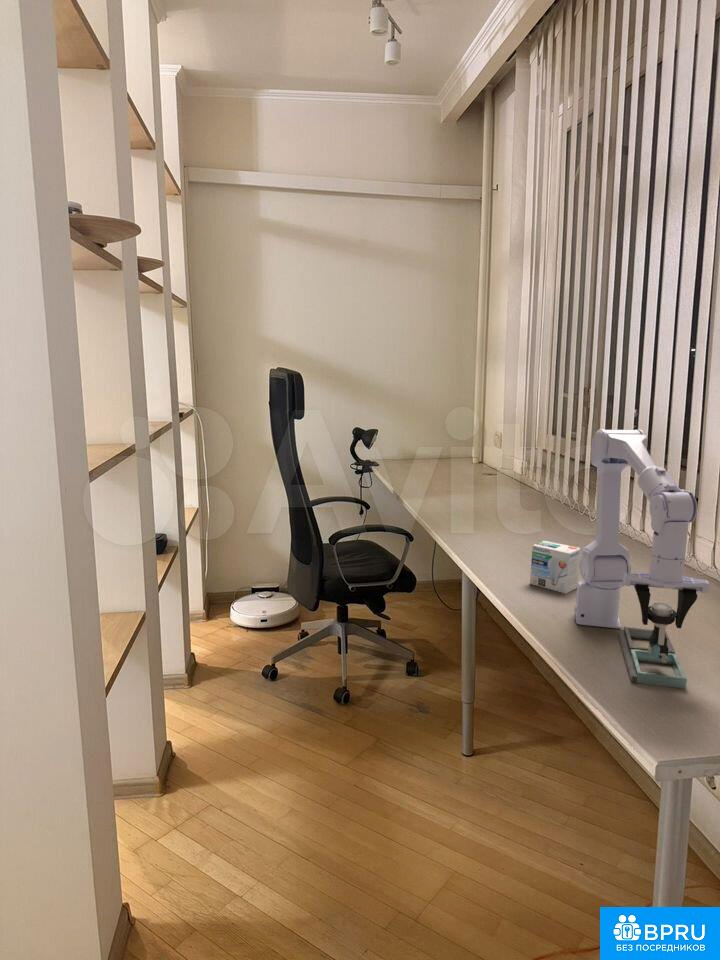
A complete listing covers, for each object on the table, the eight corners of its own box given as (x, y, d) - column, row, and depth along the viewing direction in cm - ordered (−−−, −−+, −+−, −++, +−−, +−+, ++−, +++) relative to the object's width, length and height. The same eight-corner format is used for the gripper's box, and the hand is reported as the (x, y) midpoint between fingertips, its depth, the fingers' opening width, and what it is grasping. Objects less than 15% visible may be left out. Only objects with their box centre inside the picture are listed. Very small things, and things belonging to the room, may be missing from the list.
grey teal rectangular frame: (631, 682, 130) (631, 672, 129) (618, 635, 151) (619, 626, 151) (685, 688, 128) (686, 678, 127) (665, 640, 149) (666, 631, 149)
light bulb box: (528, 584, 183) (531, 544, 181) (541, 578, 188) (544, 539, 186) (566, 594, 176) (569, 553, 174) (578, 587, 181) (581, 547, 179)
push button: (678, 665, 131) (684, 616, 128) (649, 664, 131) (654, 616, 129) (666, 647, 137) (671, 601, 135) (638, 646, 138) (643, 600, 135)
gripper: (629, 558, 127) (622, 628, 130) (715, 565, 124) (707, 637, 126) (624, 547, 134) (618, 614, 137) (707, 554, 131) (699, 622, 133)
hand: (661, 624), depth 132 cm, fingers closed on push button, 5 cm apart
